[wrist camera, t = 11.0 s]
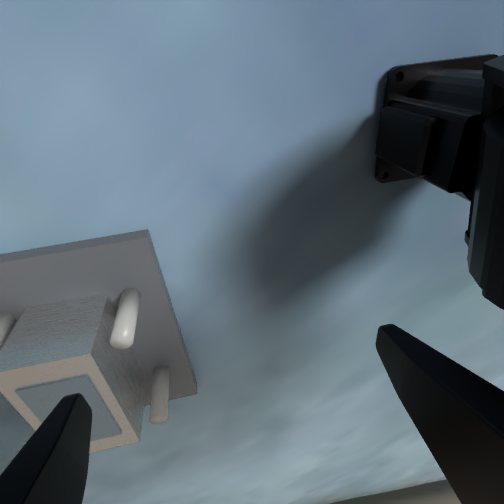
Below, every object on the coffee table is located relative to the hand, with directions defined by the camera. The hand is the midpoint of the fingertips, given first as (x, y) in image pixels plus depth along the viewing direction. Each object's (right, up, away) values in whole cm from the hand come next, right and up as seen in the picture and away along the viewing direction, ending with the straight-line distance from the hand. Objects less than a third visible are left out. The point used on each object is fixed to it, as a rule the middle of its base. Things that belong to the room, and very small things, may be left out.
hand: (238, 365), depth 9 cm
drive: (-11, -3, +13) cm, 17 cm away
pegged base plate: (-11, -3, +14) cm, 18 cm away
